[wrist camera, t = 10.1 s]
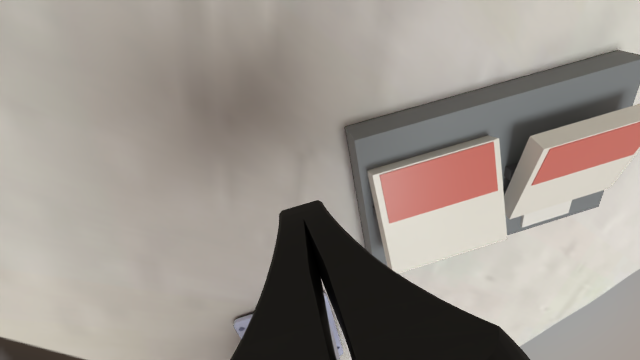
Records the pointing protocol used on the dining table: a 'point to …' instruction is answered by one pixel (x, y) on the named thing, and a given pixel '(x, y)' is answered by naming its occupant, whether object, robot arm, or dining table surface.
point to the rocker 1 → (440, 203)
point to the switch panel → (494, 128)
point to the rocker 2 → (573, 161)
